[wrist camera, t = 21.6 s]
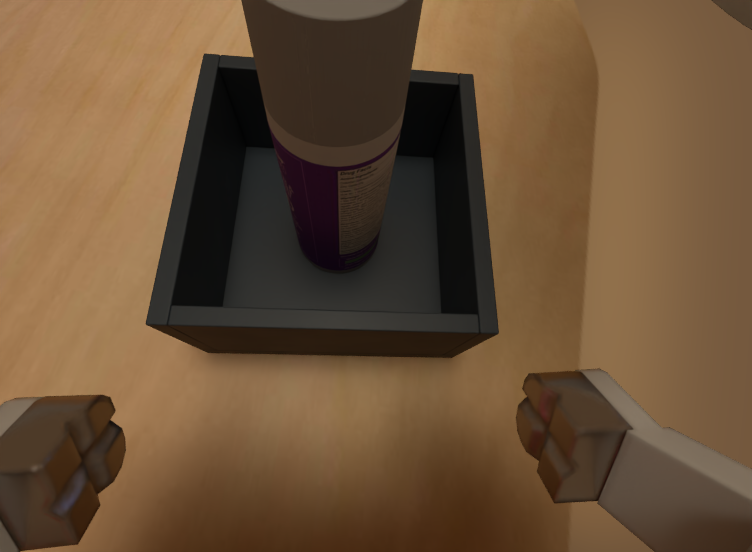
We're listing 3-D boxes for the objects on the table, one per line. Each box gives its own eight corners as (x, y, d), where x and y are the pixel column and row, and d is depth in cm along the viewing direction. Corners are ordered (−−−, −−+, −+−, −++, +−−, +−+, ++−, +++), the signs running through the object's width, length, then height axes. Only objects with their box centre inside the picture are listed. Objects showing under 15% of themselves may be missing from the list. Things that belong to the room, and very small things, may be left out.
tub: (440, 158, 26) (473, 73, 20) (452, 357, 22) (499, 333, 15) (239, 145, 25) (203, 52, 19) (206, 352, 21) (144, 324, 14)
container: (282, 229, 23) (183, -77, 9) (346, 189, 24) (351, -135, 10) (330, 289, 22) (307, 56, 8) (394, 244, 23) (476, -29, 9)
